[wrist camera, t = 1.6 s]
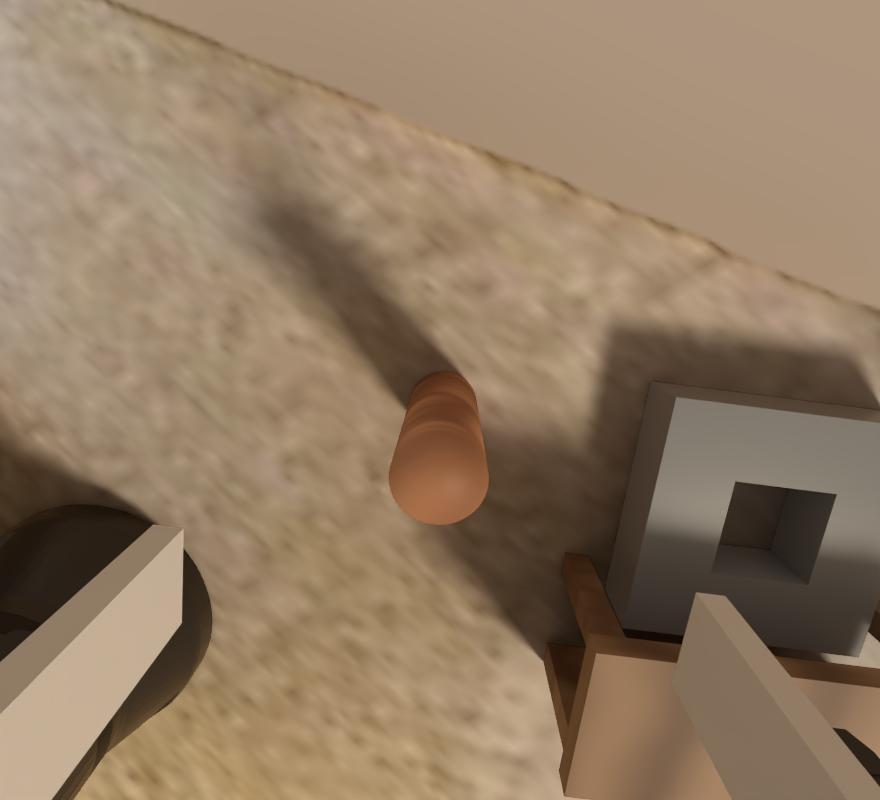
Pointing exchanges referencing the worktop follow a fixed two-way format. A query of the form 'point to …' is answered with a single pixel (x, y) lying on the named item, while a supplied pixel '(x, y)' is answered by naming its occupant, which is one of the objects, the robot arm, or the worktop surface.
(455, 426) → the peg
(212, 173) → the worktop surface
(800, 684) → the wooden bench
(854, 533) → the socket block
